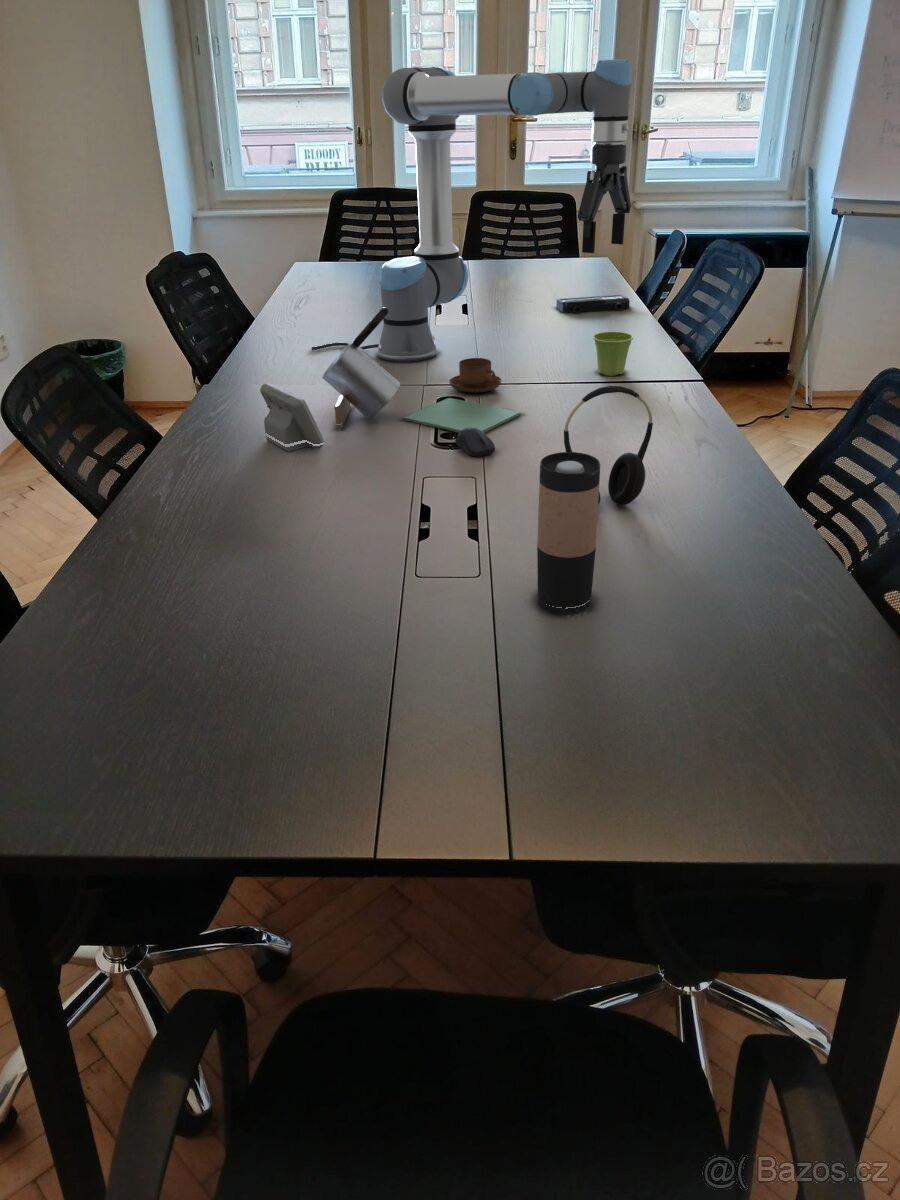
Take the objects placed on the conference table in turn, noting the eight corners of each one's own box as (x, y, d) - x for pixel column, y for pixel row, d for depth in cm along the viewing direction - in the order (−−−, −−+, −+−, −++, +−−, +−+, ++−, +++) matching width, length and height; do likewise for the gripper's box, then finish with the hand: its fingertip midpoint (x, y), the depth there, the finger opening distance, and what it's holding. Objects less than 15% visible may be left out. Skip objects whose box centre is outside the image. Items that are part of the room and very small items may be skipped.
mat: (403, 419, 186) (403, 417, 186) (449, 400, 197) (449, 397, 197) (476, 436, 176) (476, 433, 176) (520, 414, 187) (520, 412, 187)
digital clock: (327, 450, 172) (322, 396, 167) (282, 458, 169) (275, 404, 163) (302, 426, 185) (296, 375, 179) (260, 433, 182) (253, 382, 176)
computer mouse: (473, 460, 165) (473, 439, 163) (450, 445, 173) (450, 425, 171) (499, 454, 168) (499, 434, 166) (475, 439, 175) (475, 420, 173)
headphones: (655, 510, 144) (667, 389, 134) (568, 520, 142) (574, 398, 132) (636, 490, 151) (645, 374, 141) (553, 499, 149) (557, 382, 139)
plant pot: (630, 378, 208) (632, 341, 203) (589, 377, 209) (591, 340, 205) (631, 367, 215) (633, 331, 211) (592, 366, 217) (594, 331, 213)
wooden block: (336, 429, 182) (334, 406, 180) (346, 408, 195) (344, 385, 192) (341, 429, 182) (339, 406, 180) (350, 408, 194) (348, 385, 192)
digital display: (565, 303, 266) (556, 297, 274) (564, 314, 267) (555, 308, 276) (632, 298, 268) (621, 293, 277) (631, 309, 270) (620, 303, 278)
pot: (323, 426, 184) (310, 314, 173) (330, 411, 193) (319, 303, 181) (400, 425, 184) (392, 312, 172) (404, 409, 192) (397, 301, 181)
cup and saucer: (509, 384, 207) (509, 357, 203) (489, 399, 197) (489, 371, 194) (462, 379, 211) (462, 353, 208) (441, 393, 202) (440, 366, 199)
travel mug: (531, 589, 123) (534, 453, 112) (585, 585, 123) (593, 449, 113) (541, 617, 116) (545, 475, 106) (598, 613, 116) (607, 472, 106)
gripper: (596, 147, 179) (590, 257, 190) (650, 139, 196) (642, 241, 207) (564, 147, 183) (560, 255, 194) (620, 139, 200) (614, 239, 211)
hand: (602, 248), depth 200 cm, fingers open, 13 cm apart
